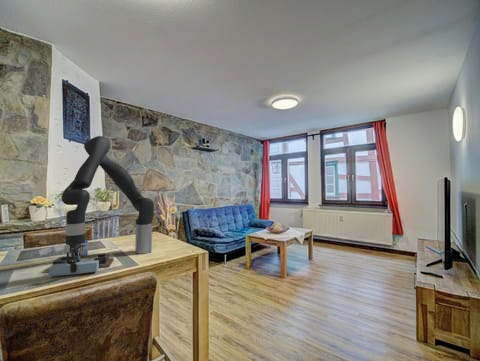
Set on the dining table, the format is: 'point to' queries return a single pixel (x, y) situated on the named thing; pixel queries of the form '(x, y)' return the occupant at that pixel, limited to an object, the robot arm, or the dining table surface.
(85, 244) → the medicine box
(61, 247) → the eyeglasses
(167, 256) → the dining table surface
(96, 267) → the grey long block
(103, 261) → the endcap board
